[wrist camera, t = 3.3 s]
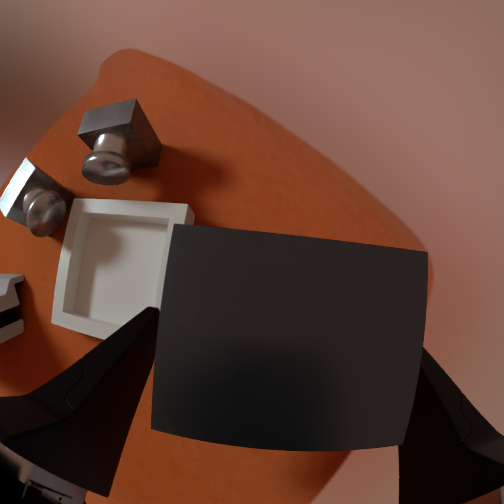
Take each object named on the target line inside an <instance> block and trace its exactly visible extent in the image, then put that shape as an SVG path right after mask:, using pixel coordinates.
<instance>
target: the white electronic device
mask: <svg viewBox="0 0 504 504" xmlns="http://www.w3.org/2000/svg"><path fill="white" fill-rule="evenodd" d="M21 281H24V275H21V274H0V344H1V343H3V342H5V341H7V340H9V339H11V338H13V337H15V336H17V335H19V334H21V333H23V331H24V322H23V319H19V317H18V315H14V314H9V313H11V312H13V311H16V310H17V308H16V306H17V305H20V304H19V300H18V297H17V293H16V290H15V286H14V284H15V283H18V282H21Z"/></svg>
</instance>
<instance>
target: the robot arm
mask: <svg viewBox="0 0 504 504" xmlns="http://www.w3.org/2000/svg"><path fill="white" fill-rule="evenodd" d="M159 315H160V310H159V308H157V307H152V306H148V307H146V308H145V309H144V310H142V311H141V312H140V313H138V314H137V315H136V316H135V317H133V318H132V319H131V320H129V321H128V322H127V323H125V324H124V325H123V326H122V327H120V328H119V329H118V330H116V331H115V332H114V333H113V334H111V335H110V336H109V337H107V338H106V339H105V340H104V341H102V342H101V343H100V344H98V345H97V346H96V347H95V348H93V349H92V350H91V351H90V352H88V353H87V354H86V355H85V356H83V357H82V358H81V359H79V360H78V361H77V362H76V363H74V364H73V365H72V366H70V367H69V368H68V369H66V370H65V371H64V372H62V373H61V374H59V375H58V376H56V377H55V378H53V379H51V380H50V381H48V382H47V383H45V384H44V385H42V386H41V387H39V388H37V389H36V390H34V391H32V392H31V393H28V394H26V395H22V396H10V397H0V504H86V502H85V497H86V494H87V491H88V490H89V491H91V492H94V493H96V494H99V495H102V496H104V497H107V498H108V496H109V494H110V490H111V487H112V483H113V480H114V477H115V473H116V470H117V467H118V464H119V460H120V457H121V454H122V451H123V448H124V445H125V441H126V438H127V435H128V432H129V429H130V427H131V424H132V421H133V418H134V415H135V412H136V409H137V406H138V404H139V401H140V398H141V395H142V392H143V390H144V387H145V384H146V382H147V379H148V376H149V374H150V371H151V368H152V365H153V362H154V359H155V353H156V343H157V333H158V324H159ZM398 451H399V477H400V478H399V504H504V436H503V435H502V434H500V433H499V432H497V431H496V430H495V428H494V427H493V426H492V425H491V424H490V423H489V422H488V421H487V420H486V419H485V418H484V417H483V416H482V415H481V414H480V413H479V412H478V410H477V409H476V408H475V407H474V406H473V405H472V404H471V402H470V401H469V400H468V399H467V398H466V396H465V395H464V394H463V393H462V392H461V390H460V389H459V388H458V387H457V385H456V384H455V383H454V382H453V381H452V379H451V378H450V377H449V376H448V375H447V374H446V373H445V371H444V370H443V369H442V368H441V367H440V365H439V364H438V363H437V362H436V361H435V360H434V359H433V357H432V356H431V355H430V354H429V353H428V352H427V351H426V349H425V348H424V347H423V349H422V357H421V364H420V370H419V376H418V382H417V387H416V392H415V397H414V402H413V406H412V411H411V415H410V419H409V423H408V427H407V431H406V434H405V438H404V441H403V444H402V445H398Z"/></svg>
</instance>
